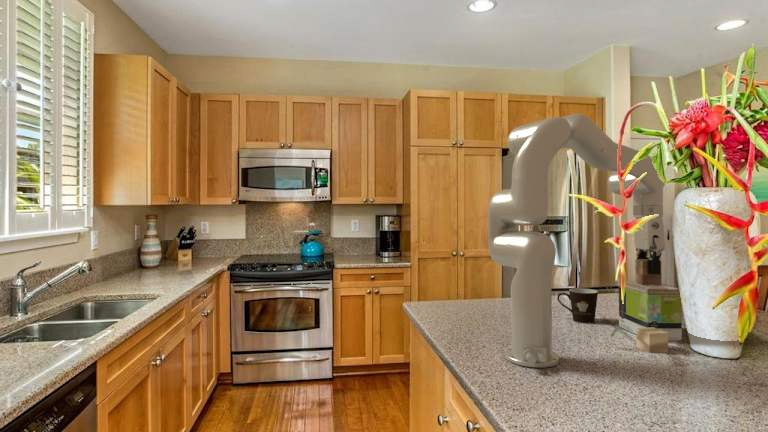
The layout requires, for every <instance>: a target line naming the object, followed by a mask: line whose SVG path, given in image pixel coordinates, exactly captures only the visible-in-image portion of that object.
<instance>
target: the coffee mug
mask: <svg viewBox="0 0 768 432" xmlns="http://www.w3.org/2000/svg"><path fill="white" fill-rule="evenodd" d="M568 292H569V293H567V292H566V293H565V292H560V293H558V295H557V298H556V299H557V301H558V302H559V304H560V305H561V306H562V307H564V308H565V309H567V310H568V311H570V312H571V314H572V315H571V316H572V319H573V322H576V323H579V324H594V323H595V320H596V313H597V312H596V311H597V302H598V294H599V291H598V290H596V289H591V288H581V287H580V288H579V287H578V288H576V287H575V288H569V290H568ZM562 295H565V296H566V297H567V298H568V299H569V301H570V307H571V308H569V307H568V306H567V305H565V304H564V303H562V301H561V300H560V296H562Z"/></svg>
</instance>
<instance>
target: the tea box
mask: <svg viewBox="0 0 768 432" xmlns="http://www.w3.org/2000/svg"><path fill="white" fill-rule="evenodd" d="M620 281H621V280H619V281H618V327H619V328H622V329H623V330H626V331H628V332H630V333H632V334H634V335H636V328H651V327H654V328H657V329H659V330H662V331H665V332H667V333H668V342H669V341H670V342H672V341H675V342H676V341H682V339H683V337H682V336H683V335H682V334H683V328H682V327H683V326H682V325H683V322H682V321H683V317H682V316H683V315H682V311H683V305H682V303H683V302H682V303H681V298H680V292H679V288H680V287H675V286H672V285H667V284H664V283H662V285H641V284H639V283H636V280H626V281H627V283H626V293H625V296H624V304H622V300H621V288H620Z"/></svg>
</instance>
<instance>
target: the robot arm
mask: <svg viewBox="0 0 768 432" xmlns="http://www.w3.org/2000/svg"><path fill="white" fill-rule="evenodd" d="M506 141H507V148H508V149H509V151H510V153H511V154H512V155H514V156H515V157H514V161H513V164H512V169H511V188H506V189H505V188H504V189H501V190H498V191H497V192H495V193H494V194H493V196H492V197H491V199H490V201H489V203H488V206H487V243H488V252H489V256H490V257H491V259H492V260H493V262H495V263H496V264H498V265H500V266H503V267H509V268H514V269H516V271H515V273H514V276H513V278H512V280H511V284H510V320H511V321H510V324H511V325H510V326H511V327H510V332H511V333H510V335H511V337H510V338H511V339H510V340H511V342H510V343H511V345H510V347H509V348H507V349H506V350H505V351H504V357H505V358H506V360H507V361H508V362H510V363H512V364H515V365H518V366H523V367H528V368H536V369H537V368H539V369H541V368H550V367H554V366H557V365H558V364H559V363H560V356H559V355H558V354H557V353H556V352H554V351H553V328H552V327H553V326H552V325H553V324H552V323H553V321H552V320H553V319H552V318H553V314H552V312H553V311H552V309H553V307H552V280H553V270H554V265H555V260H556V254H557V253H556V251H557V250H556V246H555V243H554V240H553V239H552V237H549V235H547V234H545V233H542V232H539V231H530V230H519V227H520V226H521V227H522V226H526V227H530V226H531V227H532V226H538V225H541V224H543V223H545V221H546V220H547V217H548V215H549V214H548V213H549V169H550V165H551V163H552V162H553V159H554V158H555V156H556V154H557V153H558V152H559V151H560V150H562V149H570V150H571V151H573V152H574V154H576V155H577V156H578V157H579V158H580V159H581V160H582V161H583V162H585V163H586V164H587V165H588V166H589V167H591V168H594V169H598V170H602V171H607V172H608V171H610V172H611V174H610V175H609V176H608V179H607V187H608V189H609V190H610V192H612V193H613V194H616V195H618V196H622V195H621V193H620V185H619V179H618V175H617V149H618V144H619V143H617V142H615V141H614V140H613V139H612V138H610V137H609V136H608V135H607V134H606V133H605V132H604V131H603V130H602V129H601V128H600V127H599V126H598V125H597V124H596V123H595V122H594V121H593V120H592V119H591V118H590V117H588V116H587V115H586V114H583V113H573V114H568V115H565V116H561V117H558V116H554V117H548V118H544V119H540V120H536V121H534V122H530V123H527V124H523V125H519V126H517V127H514V128H513V129H512V130H511V131H510V133H509V134H508V136H507V140H506ZM639 151H640V150H638V149H635V148H631V147H629V146H627V145H624V144H621V169H622V170H624V169H625V167H626V166H627V164H628V163H629V162H630V161H631V160H632V159H633V158H634V156H635V155H636V154H637V153H638V152H639ZM651 158H652V157H651V156H649V155H648V156H647V158H645V159H643V160H640V161H638V162H636V164H634V165H633V167H632V169H631V170H630V172H629V173H628V175H627V176H626V179H625V181H624V188H625V189H627V188H628V187H629V186H630V185H631V184H632V183H633V182H634V181H635V180H636V179H637V178H639V177H640V176H641V175H642V174H643V173H645V172H647V174H646V175H645V176H644V177H643V178H642V179H641V180H640V182H639V183H638V185H637V186H636V188H635V190H634V192H633V194H632V195H631V196H632V217H633V218H635V220H636V219H639V218H642V217H645V216H649V215H654V214H659V216H658V217H656V218H654V219H651V220H649V221H648V222H646V223H645V224H644V225H643V226H642V228H643V230H639V231H637V232H635V231H634V232H635V233H634V235H633V237H634V239H633V240H634V246H635V251H636V253H635V255H636V259H649V260H647V273H648V274H660V273H661V274H662V252H664V251H665V250H666V235H665V224H664V219H663V217H664V187H665V184H666V183H665V184H664V183H663V182H662V181H661V180H660V179H659V177H658V174H657V171H656V170H657V169H656V170H655V168H654V166H653V164H652V159H653V158H652V159H651Z"/></svg>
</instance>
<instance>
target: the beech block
mask: <svg viewBox="0 0 768 432" xmlns="http://www.w3.org/2000/svg"><path fill="white" fill-rule="evenodd" d="M635 335H636V336H635V337H636V339H635V341H636V346H635V347H637V348H639V349H641V350H644V351H645V352H646V353H647V352H648V353H668V352H669V341H668V333H667V332H665V331H662V330H659V329H657V328H654V327H651V328H636V334H635Z"/></svg>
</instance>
